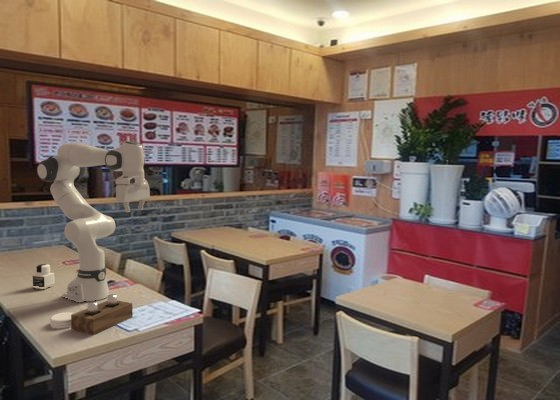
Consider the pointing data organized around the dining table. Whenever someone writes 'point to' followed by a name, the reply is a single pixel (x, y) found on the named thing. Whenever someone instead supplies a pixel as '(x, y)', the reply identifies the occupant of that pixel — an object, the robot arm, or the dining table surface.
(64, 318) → the coaster
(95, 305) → the steel peg
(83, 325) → the walnut block
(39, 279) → the medicine bottle
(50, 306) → the dining table surface
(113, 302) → the steel peg
